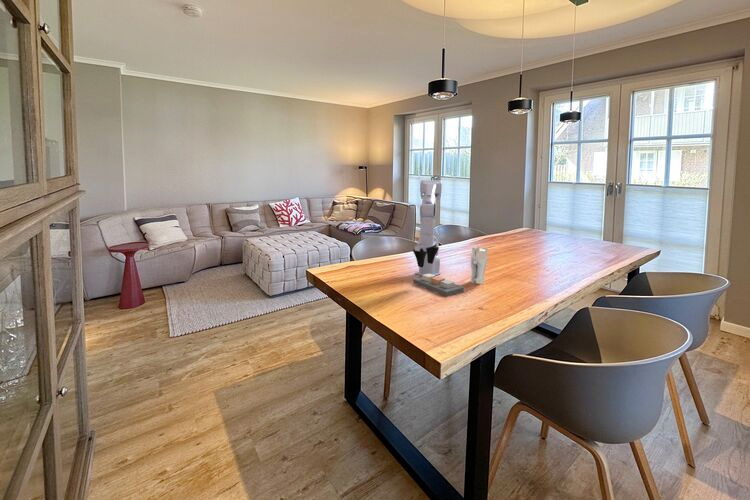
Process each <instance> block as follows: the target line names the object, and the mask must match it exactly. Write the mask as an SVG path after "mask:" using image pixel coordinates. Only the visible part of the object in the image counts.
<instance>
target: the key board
mask: <svg viewBox="0 0 750 500" xmlns="http://www.w3.org/2000/svg"><path fill="white" fill-rule="evenodd" d="M412 283H413V284H414V285H416V286H418V287H421V288H424V289H426V290H429V291H432V292H434V293H436V294H439V295H442V296H444V297H450V296H454V295H458V294H461V293H464V292H465V287H464V286H461V285H459V284H457V283H455V287H454V288H449V289H446V288H444V287H441V286H440V285H436V284H433V283H431V281H430V282H427V281H425V280H422V276H420V277H416V278H413V279H412Z"/></svg>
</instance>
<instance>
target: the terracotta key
mask: <svg viewBox="0 0 750 500" xmlns="http://www.w3.org/2000/svg"><path fill="white" fill-rule="evenodd" d="M444 280H446V279H445V278H444V277H441V276H436V277H434V278H431V283H433V284H436V285H441V281H444Z"/></svg>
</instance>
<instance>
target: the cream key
mask: <svg viewBox="0 0 750 500" xmlns="http://www.w3.org/2000/svg"><path fill="white" fill-rule="evenodd" d="M421 277H422V280H425V281H427V282H430V281H431V278H434V277H437V275H432V274H424V275H422V276H421Z"/></svg>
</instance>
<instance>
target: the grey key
mask: <svg viewBox="0 0 750 500" xmlns="http://www.w3.org/2000/svg"><path fill="white" fill-rule="evenodd" d="M455 284H456V283H455V281H453V280H449V279H445V280H444V281H441V285H440V286H441V287H444V288H446V289H449V288H454V287H455Z"/></svg>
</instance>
